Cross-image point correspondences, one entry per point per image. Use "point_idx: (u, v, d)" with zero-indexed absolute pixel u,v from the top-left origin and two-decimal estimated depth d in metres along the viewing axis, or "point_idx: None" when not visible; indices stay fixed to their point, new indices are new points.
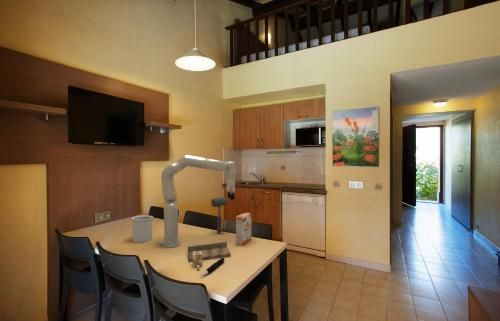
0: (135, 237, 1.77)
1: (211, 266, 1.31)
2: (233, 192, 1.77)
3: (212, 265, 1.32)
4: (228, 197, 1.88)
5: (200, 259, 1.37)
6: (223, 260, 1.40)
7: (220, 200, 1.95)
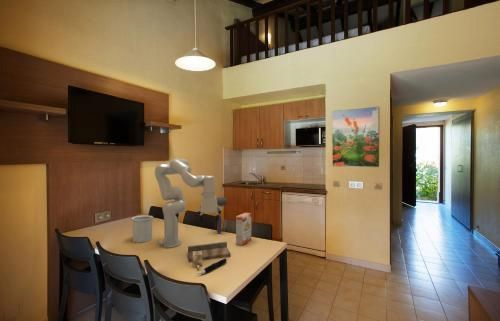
0: (135, 237, 1.77)
1: (210, 266, 1.31)
2: (221, 211, 1.52)
3: (211, 265, 1.32)
4: (202, 221, 1.51)
5: (200, 259, 1.37)
6: (225, 261, 1.39)
7: (220, 200, 1.95)
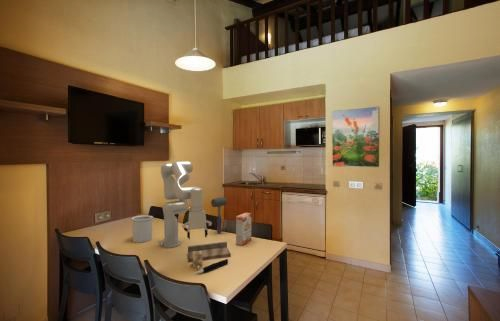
0: (135, 237, 1.77)
1: (209, 265, 1.32)
2: None
3: (211, 265, 1.32)
4: (189, 238, 1.36)
5: (200, 259, 1.37)
6: (226, 261, 1.38)
7: (220, 200, 1.95)
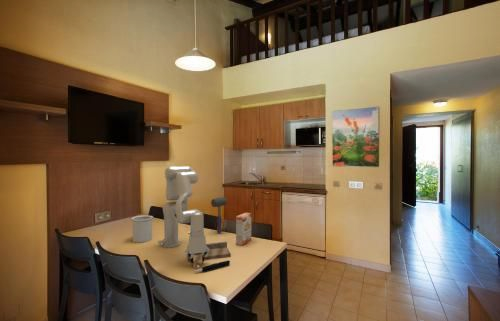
0: (135, 237, 1.77)
1: (209, 265, 1.32)
2: (206, 252, 1.41)
3: None
4: None
5: (200, 259, 1.37)
6: (227, 263, 1.37)
7: (220, 200, 1.95)
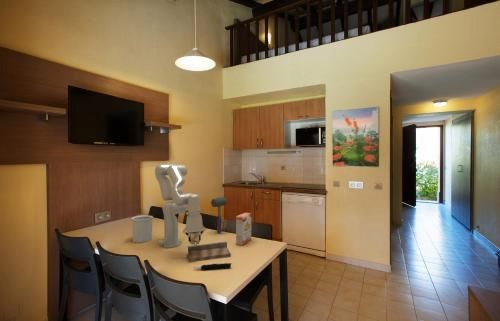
0: (135, 237, 1.77)
1: None
2: None
3: (210, 264, 1.33)
4: (190, 242, 1.49)
5: (197, 237, 1.49)
6: (228, 265, 1.33)
7: (220, 200, 1.95)
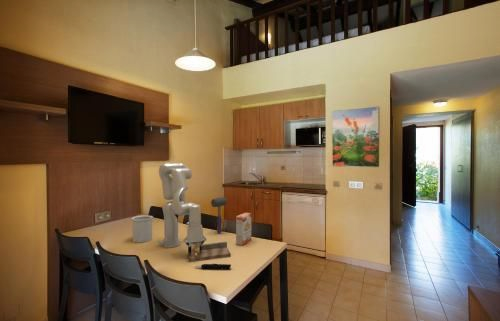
0: (135, 237, 1.77)
1: (208, 264, 1.34)
2: (203, 241, 1.53)
3: (210, 264, 1.34)
4: None
5: (197, 247, 1.49)
6: (227, 267, 1.32)
7: (220, 200, 1.95)
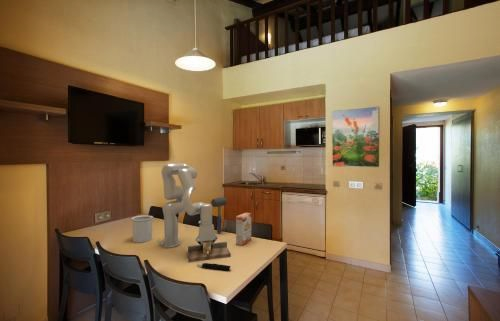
0: (135, 237, 1.77)
1: (209, 263, 1.34)
2: (215, 240, 1.55)
3: None
4: None
5: (209, 246, 1.51)
6: (226, 268, 1.30)
7: (220, 200, 1.95)
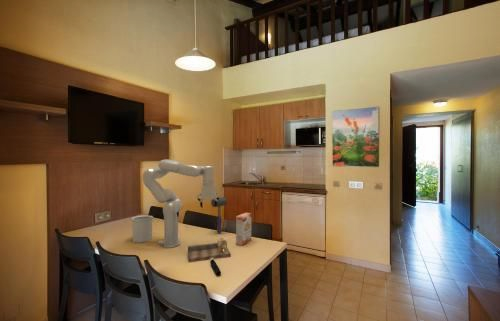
0: (135, 237, 1.77)
1: (213, 261, 1.37)
2: None
3: (213, 262, 1.36)
4: (202, 207, 1.65)
5: (224, 244, 1.54)
6: (215, 272, 1.26)
7: (220, 200, 1.95)
